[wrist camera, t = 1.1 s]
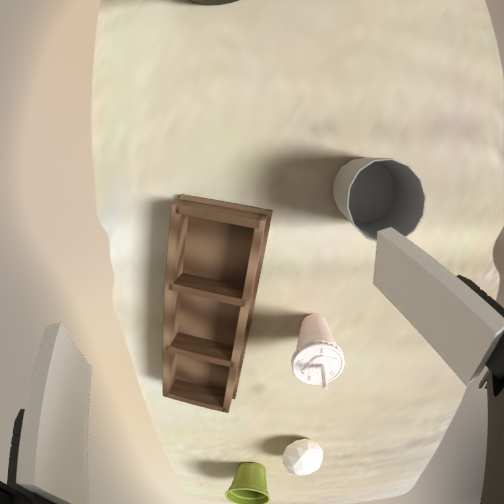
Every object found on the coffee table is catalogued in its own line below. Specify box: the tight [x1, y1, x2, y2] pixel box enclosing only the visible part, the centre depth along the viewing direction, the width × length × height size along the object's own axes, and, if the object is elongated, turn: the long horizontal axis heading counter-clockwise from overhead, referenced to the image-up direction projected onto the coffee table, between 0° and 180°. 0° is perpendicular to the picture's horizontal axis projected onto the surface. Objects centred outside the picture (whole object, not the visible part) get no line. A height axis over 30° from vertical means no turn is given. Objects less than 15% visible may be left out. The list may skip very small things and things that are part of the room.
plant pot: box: [225, 462, 270, 504], centre depth 52 cm, size 9×9×9 cm
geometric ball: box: [282, 439, 323, 476], centre depth 48 cm, size 8×8×8 cm
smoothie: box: [291, 314, 344, 390], centre depth 36 cm, size 6×6×14 cm
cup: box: [333, 158, 426, 242], centre depth 32 cm, size 8×8×10 cm
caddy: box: [163, 194, 273, 413], centre depth 42 cm, size 32×12×5 cm, turn 170°
